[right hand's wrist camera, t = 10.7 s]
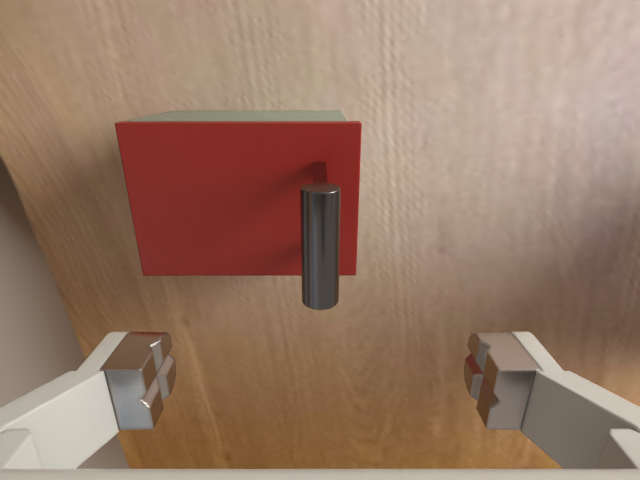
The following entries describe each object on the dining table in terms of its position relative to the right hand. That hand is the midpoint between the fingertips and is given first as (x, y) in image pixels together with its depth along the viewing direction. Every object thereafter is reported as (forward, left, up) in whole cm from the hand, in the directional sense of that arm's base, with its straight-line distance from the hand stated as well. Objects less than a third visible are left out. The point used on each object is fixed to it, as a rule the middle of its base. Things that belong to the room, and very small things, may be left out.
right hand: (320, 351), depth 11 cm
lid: (+3, +4, -15) cm, 16 cm away
